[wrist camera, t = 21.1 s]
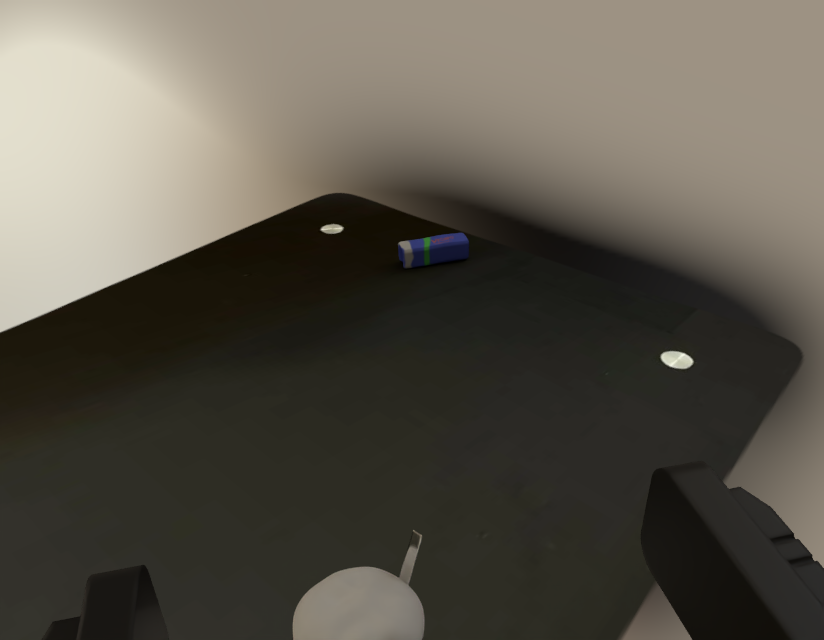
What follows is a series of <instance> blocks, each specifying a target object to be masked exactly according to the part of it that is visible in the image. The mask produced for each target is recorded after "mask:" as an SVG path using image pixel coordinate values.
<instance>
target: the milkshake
mask: <svg viewBox="0 0 824 640" xmlns="http://www.w3.org/2000/svg"><path fill="white" fill-rule="evenodd" d="M421 541H422V535H421V534H419V533H418V532H416V531H415V530H413V532H412V535H411V539H410V542H409V545H408V549H407V552H406V556H405V559H404V563H403V566H402V570H401V573H400V576H399V578H398V577H396V576H395V575H393V574H391V573H389V572H386V571H384V570H381V569H378V568H374V567H357V568H350V569H345V570H342V571H339V572H336V573H334V574H332V575H330V576H328V577H327V578H325V579H324V580H322V581H321V582H319V583H318V584H317V585H315V586H314V587H313V588H311V589H310V590H309V591H308V592H307V593H306V594H305V595H304V596H303V598H302V599H301V600H300V602H299V604H298V606H297V608H296V610H295V613H294V618H293V640H423V632H424V612H423V607H422V604H421V602H420V600H419V598H418V597H417V595H416V594H415V592H414V591H413V590H412V589H411V588H410V587H409V586H408V585H409V582H410V578H411V575H412V572H413V568H414V565H415V561H416V558H417V555H418V551H419V548H420V544H421Z"/></svg>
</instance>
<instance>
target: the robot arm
mask: <svg viewBox="0 0 824 640" xmlns="http://www.w3.org/2000/svg"><path fill="white" fill-rule="evenodd" d="M641 544H642V550H643V554H644V557H645V560H646V563H647V565H648V567H649V569H650V571H651V573H652V575H653V576H654V578H655V579H656V581H657V583H658V584H659V586H660V587H661V589H662V591H663V592H664V594H665V596H666V597H667V599H668V600H669V602H670V604H671V605H672V607H673V609H674V610H675V612H676V614H677V615H678V617H679V619H680V620H681V622H682V623H683V625H684V627H685V628H686V630H687V631H688V633H689V635H690V636H691V638H692V640H824V568H823V567H822V566H821V565H820V563H819V562H818V561H814V560H813V558H812V554H811V553H810V552H809V551H808V550H807V548H806V547H805V546H804V545H803V544H802V543H801V541H800V540H799V539H795V538H794V533H793V532H792V531H791V530H790V529H789V528H788V526H787V525H786V524H785V523H784V522H783V521H782V519H781V518H780V517H779V516H778V515H777V514H776V512H775V511H774V510H773V509H772V508H771V507H770V506H768V505H767V504H765V503H764V502H762V501H760V500H759V499H758V498H756V497H755V496H753V495H752V494H750V493H749V492H747V491H746V490H744V489H743V488H741V487H737V488H732V489H728V488H727V486H726V485H725V484H724V483H723V481H722V480H721V479H720V478H719V477H718V475H717V474H716V473H715V472H714V470H713V469H712V468H711V467H710V466H709V465H708V464H706V463H705V462H703V461H696V462H690V463H685V464H680V465H675V466H669V467H664V468H659V469H656V470H655V471H654V473H653V475H652V478H651V484H650V489H649V494H648V499H647V504H646V509H645V514H644V520H643V525H642V530H641ZM41 640H169V637H168V632H167V628H166V624H165V621H164V618H163V615H162V612H161V609H160V606H159V603H158V600H157V597H156V594H155V590H154V587H153V584H152V581H151V578H150V575H149V572H148V570H147V568H146V566H145V565H141V566H135V567H130V568H125V569H120V570H114V571H109V572H104V573H99V574H93V575H91V576H90V577H89V578H88V581H87V583H86V588H85V593H84V599H83V605H82V610H81V616H80V617H75V618H70V619H65V620H60V621H55V622H52V624H51V625H50V627H49V629H48V630H47V632H46V633H45V635H44V636H43V638H42V639H41Z"/></svg>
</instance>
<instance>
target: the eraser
mask: <svg viewBox="0 0 824 640" xmlns="http://www.w3.org/2000/svg"><path fill="white" fill-rule="evenodd" d="M398 248H399V259H400V261H402V262H403V267H404V268H414V267H421V266H427V265H432V264H437V263H443V262H450V261H455V260H464V259H467V258H468V254H469V242H468V239H467V238H466V236H465V235H464V234H463V233H455V234H446V235H439V236H434V237H428V238H423V239H417V240H410V241H403V242H399V244H398Z"/></svg>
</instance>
